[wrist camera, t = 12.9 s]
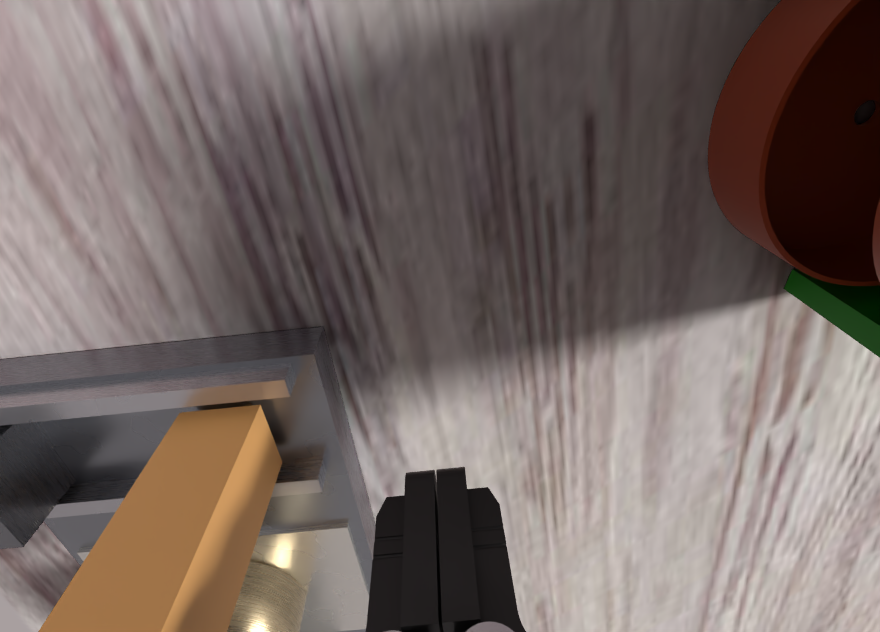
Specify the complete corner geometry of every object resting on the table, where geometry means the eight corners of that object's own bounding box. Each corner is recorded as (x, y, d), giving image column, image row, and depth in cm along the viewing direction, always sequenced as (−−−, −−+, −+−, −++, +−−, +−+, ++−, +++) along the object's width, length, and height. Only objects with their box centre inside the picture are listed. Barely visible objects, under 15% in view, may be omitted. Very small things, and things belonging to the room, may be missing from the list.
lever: (179, 412, 14) (11, 674, 8) (260, 404, 14) (147, 662, 8) (208, 469, 15) (78, 732, 9) (282, 461, 15) (197, 721, 9)
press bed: (-21, 361, 15) (-150, 455, 12) (323, 326, 15) (294, 411, 11) (173, 625, 23) (131, 725, 20) (396, 604, 23) (392, 702, 19)
